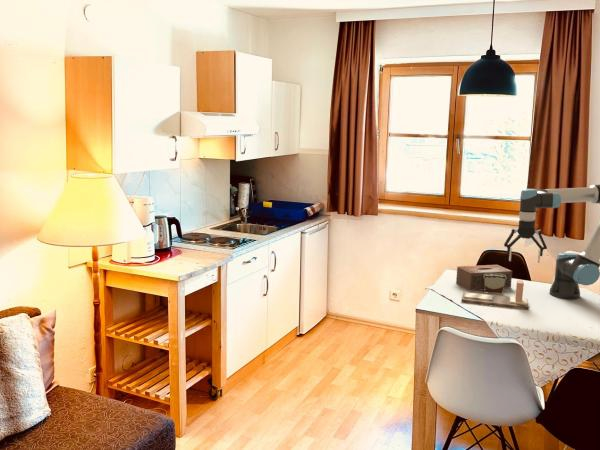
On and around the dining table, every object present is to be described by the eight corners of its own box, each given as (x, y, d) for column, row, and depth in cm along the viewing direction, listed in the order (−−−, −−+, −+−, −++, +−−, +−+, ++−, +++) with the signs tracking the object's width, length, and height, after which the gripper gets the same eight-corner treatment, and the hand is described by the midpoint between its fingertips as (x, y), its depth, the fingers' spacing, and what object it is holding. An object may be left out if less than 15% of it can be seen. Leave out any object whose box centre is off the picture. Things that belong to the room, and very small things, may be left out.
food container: (502, 290, 329) (504, 272, 327) (505, 293, 323) (507, 275, 321) (479, 289, 330) (481, 271, 329) (482, 292, 324) (483, 274, 322)
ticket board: (526, 301, 309) (527, 297, 309) (528, 309, 296) (528, 305, 296) (462, 294, 319) (463, 290, 319) (461, 302, 306) (461, 297, 305)
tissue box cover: (469, 290, 328) (470, 273, 326) (456, 283, 341) (457, 266, 339) (510, 288, 334) (512, 271, 332) (495, 281, 348) (497, 264, 346)
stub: (526, 300, 307) (528, 280, 305) (527, 305, 299) (529, 284, 297) (509, 298, 309) (511, 278, 307) (510, 303, 301) (512, 282, 300)
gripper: (553, 219, 299) (549, 261, 303) (500, 217, 306) (497, 257, 310) (554, 222, 292) (551, 264, 296) (501, 219, 299) (498, 261, 303)
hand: (524, 261), depth 303 cm, fingers open, 13 cm apart
